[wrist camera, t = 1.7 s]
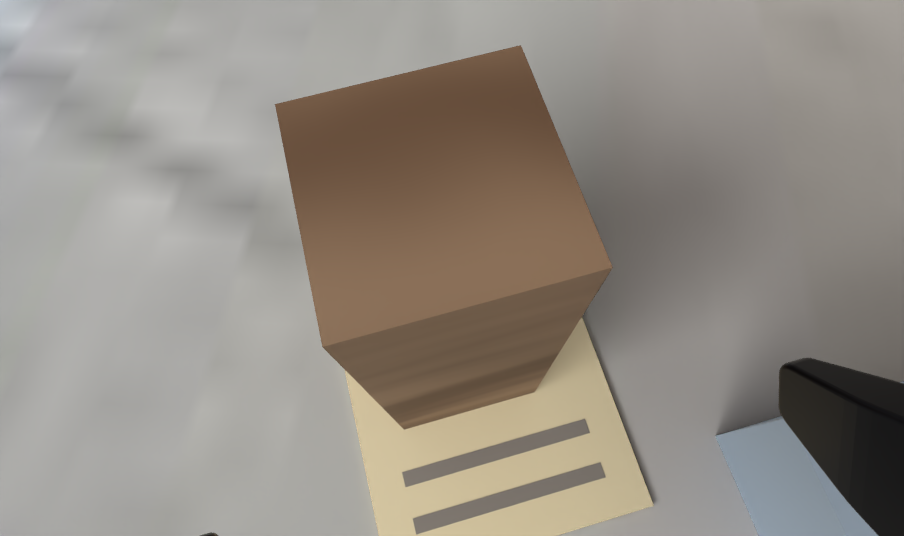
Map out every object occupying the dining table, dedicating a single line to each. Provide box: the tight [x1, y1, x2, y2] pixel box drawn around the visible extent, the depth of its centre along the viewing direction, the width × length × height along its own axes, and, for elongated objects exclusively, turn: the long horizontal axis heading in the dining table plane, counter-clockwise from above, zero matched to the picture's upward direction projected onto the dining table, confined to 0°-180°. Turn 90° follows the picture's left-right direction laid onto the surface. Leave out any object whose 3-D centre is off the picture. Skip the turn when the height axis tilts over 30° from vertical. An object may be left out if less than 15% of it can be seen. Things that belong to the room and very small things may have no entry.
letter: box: [345, 317, 654, 536], centre depth 21 cm, size 12×9×1 cm
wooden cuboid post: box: [275, 45, 613, 430], centre depth 16 cm, size 5×5×12 cm
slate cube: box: [716, 381, 904, 536], centre depth 17 cm, size 5×5×5 cm
